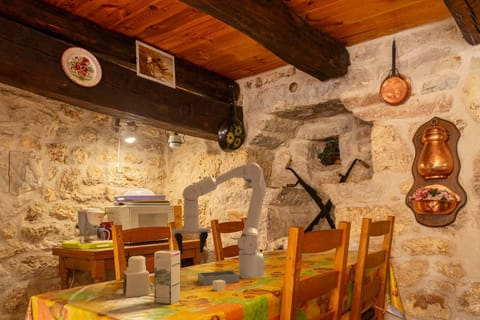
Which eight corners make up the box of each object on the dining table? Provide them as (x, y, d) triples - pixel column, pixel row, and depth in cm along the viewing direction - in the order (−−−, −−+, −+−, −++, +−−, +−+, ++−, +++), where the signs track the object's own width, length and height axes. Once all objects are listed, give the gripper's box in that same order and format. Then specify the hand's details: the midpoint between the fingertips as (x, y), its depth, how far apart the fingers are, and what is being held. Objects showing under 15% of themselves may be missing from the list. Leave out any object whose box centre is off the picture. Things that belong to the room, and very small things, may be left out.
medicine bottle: (122, 293, 123) (123, 255, 125) (145, 291, 126) (145, 253, 127) (125, 298, 117) (126, 257, 118) (149, 295, 120) (149, 256, 121)
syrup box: (181, 300, 113) (180, 249, 114) (171, 305, 107) (171, 252, 109) (163, 299, 114) (164, 249, 116) (153, 303, 109) (153, 251, 111)
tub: (231, 279, 143) (231, 270, 144) (239, 283, 135) (239, 274, 135) (197, 282, 139) (197, 273, 140) (203, 286, 131) (203, 277, 131)
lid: (234, 286, 134) (234, 275, 134) (252, 290, 126) (251, 278, 126) (201, 292, 125) (201, 280, 126) (218, 297, 118) (217, 284, 118)
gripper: (207, 216, 152) (207, 251, 150) (170, 217, 147) (170, 253, 146) (211, 216, 145) (211, 253, 144) (173, 217, 141) (173, 255, 139)
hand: (191, 253), depth 144 cm, fingers open, 7 cm apart
